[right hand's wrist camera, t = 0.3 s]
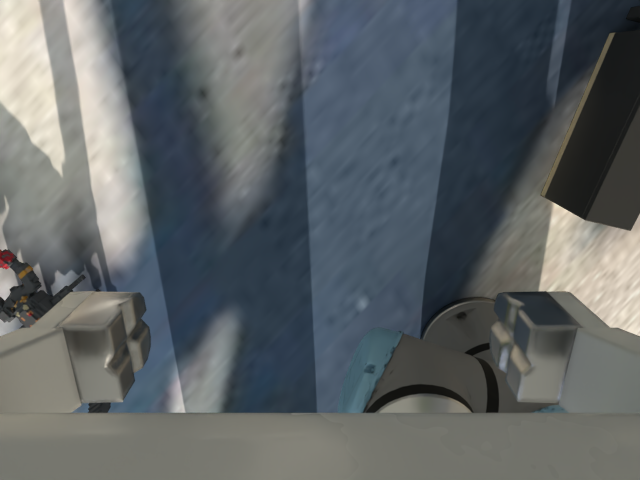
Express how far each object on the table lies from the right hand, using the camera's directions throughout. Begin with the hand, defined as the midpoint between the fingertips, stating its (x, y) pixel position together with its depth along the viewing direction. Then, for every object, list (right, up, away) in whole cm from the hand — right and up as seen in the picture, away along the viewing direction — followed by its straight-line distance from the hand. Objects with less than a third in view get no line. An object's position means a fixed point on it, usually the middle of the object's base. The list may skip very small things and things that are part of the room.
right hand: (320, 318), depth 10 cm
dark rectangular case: (+34, +16, +45) cm, 59 cm away
